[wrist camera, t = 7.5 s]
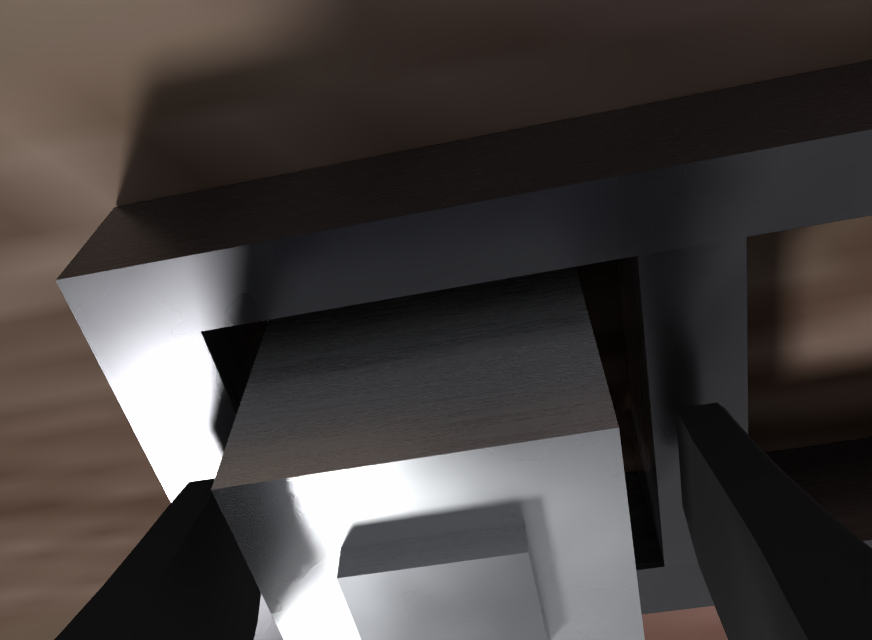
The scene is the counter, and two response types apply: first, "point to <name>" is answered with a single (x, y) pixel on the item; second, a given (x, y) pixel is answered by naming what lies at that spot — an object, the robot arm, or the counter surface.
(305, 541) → the block
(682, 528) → the grey flat rectangular frame
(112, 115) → the counter surface
